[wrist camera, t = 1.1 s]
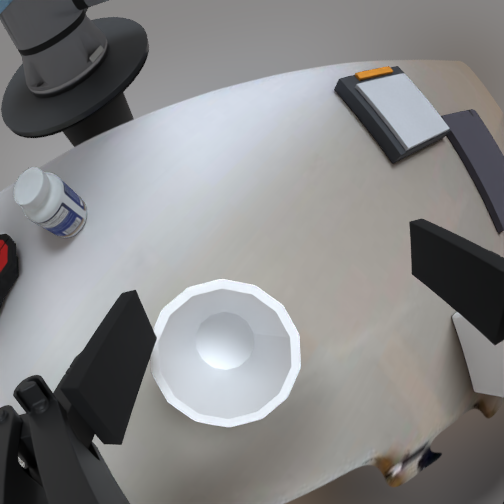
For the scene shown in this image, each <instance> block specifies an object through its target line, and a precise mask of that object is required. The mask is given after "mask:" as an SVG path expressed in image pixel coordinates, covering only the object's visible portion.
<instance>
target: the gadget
mask: <svg viewBox="0 0 504 504" xmlns="http://www.w3.org/2000/svg"><path fill="white" fill-rule="evenodd" d="M17 277H18V257H17V256H16V243H15V242H14V241H13V240H12V239H11V237H10V236H8V235H7V234H1V235H0V307H1V305H2V302H3V299H4V298H5V296H6V295H7V293H8V291H9V290H10V288H11V286H12V285H13V283H14V282H15V280H16V279H17Z"/></svg>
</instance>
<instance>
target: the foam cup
mask: <svg viewBox="0 0 504 504" xmlns="http://www.w3.org/2000/svg"><path fill="white" fill-rule="evenodd" d="M153 331H154V333H155V335H156V337H157V340H156V343H155V345H154V348H153V351H152V354H151V356H150V365H151V374H152V375H153V377H154V379H155V381H156V383H157V384H158V386H159V388H160V390H161V391H162V393H163V395H164V397H165V398H166V400H167V402H168V403H170V404H171V405H172V406H174V407H175V408H177V409H178V410H179V411H181V412H182V413H184V414H185V415H187V416H188V417H190V418H191V419H193V420H194V421H196V422H200V423H206V424H211V425H217V426H223V427H229V428H230V427H234V426H238V425H242V424H246V423H249V422H253V421H257V420H260V419H263V418H264V417H265V416H266V415H267V414H269V413H270V412H271V411H272V410H274V409H275V408H276V407H277V406H278V405H279V404H281V403H282V402H283V401H284V400H285V399H286V398H287V397H288V395H289V393H290V391H291V389H292V386H293V384H294V382H295V380H296V377H297V375H298V373H299V371H300V368H301V361H300V338H299V333H298V331H297V329H296V328H295V326H294V324H293V322H292V320H291V318H290V317H289V315H288V313H287V311H286V309H285V308H284V306H283V305H282V304H281V303H279V302H278V301H277V300H275V299H274V298H273V297H271V296H270V295H268V294H267V293H266V292H264V291H263V290H261V289H260V288H259V287H257V286H256V285H252V284H247V283H241V282H236V281H231V280H226V279H218V280H214V281H210V282H207V283H203V284H199V285H195V286H191V287H188V288H187V289H185V290H184V291H183V292H182V293H181V294H179V295H178V296H177V297H176V298H175V299H173V300H172V301H171V302H170V303H169V304H168V305H166V306H165V307H164V308H163V309H162V311H161V313H160V315H159V318H158V320H157V322H156V324H155V327H154V329H153Z"/></svg>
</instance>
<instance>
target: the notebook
mask: <svg viewBox="0 0 504 504" xmlns="http://www.w3.org/2000/svg"><path fill="white" fill-rule="evenodd" d="M441 117H442V119H443V120H444V121H445V122H446V124H447V125H448V127H449V128H450V129H451V131H450V132H449V133H448V134H447V136H448V138H449V139H450V141H451V143H452V144H453V146H454V147H455V149H456V151H457V152H458V154H459V156H460V157H461V159H462V161H463V163H464V164H465V166H466V168H467V170H468V171H469V173H470V175H471V177H472V179H473V181H474V182H475V184H476V186H477V188H478V190H479V192H480V194H481V196H482V198H483V200H484V202H485V204H486V206H487V209H488V211H489V213H490V215H491V217H492V220H493V222H494V224H495V227H496V229H497V231H498V233H499V232H501V231H504V156H503V154H502V152H501V151H500V149H499V147H498V145H497V144H496V142H495V140H494V139H493V137H492V135H491V134H490V132H489V131H488V129H487V127H486V126H485V124H484V123H483V121H482V120H481V118H480V117H479V115H478V114H477V112H476V111H475V110H473V109H471V110H466V111H462V112H457V113H452V114H448V115H443V116H441Z"/></svg>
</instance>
